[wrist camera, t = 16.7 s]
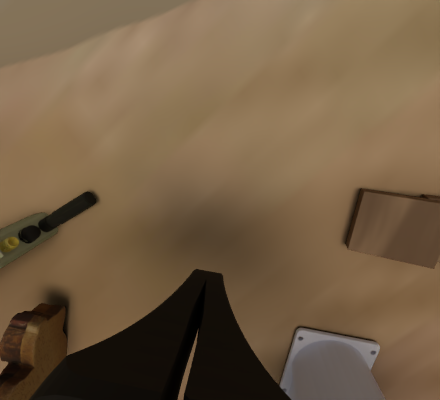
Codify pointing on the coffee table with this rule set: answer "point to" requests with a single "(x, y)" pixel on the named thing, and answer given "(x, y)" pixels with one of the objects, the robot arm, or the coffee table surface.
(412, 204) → the domino
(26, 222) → the handheld radio
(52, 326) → the wooden carving
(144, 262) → the coffee table surface
